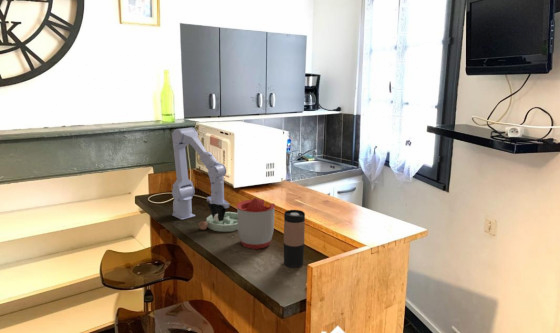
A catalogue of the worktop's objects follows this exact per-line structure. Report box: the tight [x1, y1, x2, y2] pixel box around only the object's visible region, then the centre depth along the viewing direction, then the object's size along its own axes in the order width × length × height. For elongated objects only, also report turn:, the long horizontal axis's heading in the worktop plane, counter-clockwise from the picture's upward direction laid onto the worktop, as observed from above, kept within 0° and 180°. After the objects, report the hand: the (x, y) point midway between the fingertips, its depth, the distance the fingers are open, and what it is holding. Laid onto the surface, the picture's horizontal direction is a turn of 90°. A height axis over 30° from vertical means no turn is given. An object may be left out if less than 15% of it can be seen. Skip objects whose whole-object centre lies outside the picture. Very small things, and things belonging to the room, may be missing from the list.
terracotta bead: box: [198, 220, 208, 231], centre depth 183 cm, size 4×4×4 cm
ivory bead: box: [214, 214, 221, 223], centre depth 186 cm, size 4×4×4 cm
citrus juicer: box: [236, 197, 276, 250], centre depth 167 cm, size 16×17×20 cm
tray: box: [206, 211, 238, 233], centre depth 190 cm, size 18×18×3 cm
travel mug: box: [283, 209, 306, 269], centre depth 149 cm, size 8×8×20 cm
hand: (218, 219), depth 186 cm, fingers closed on ivory bead, 4 cm apart
